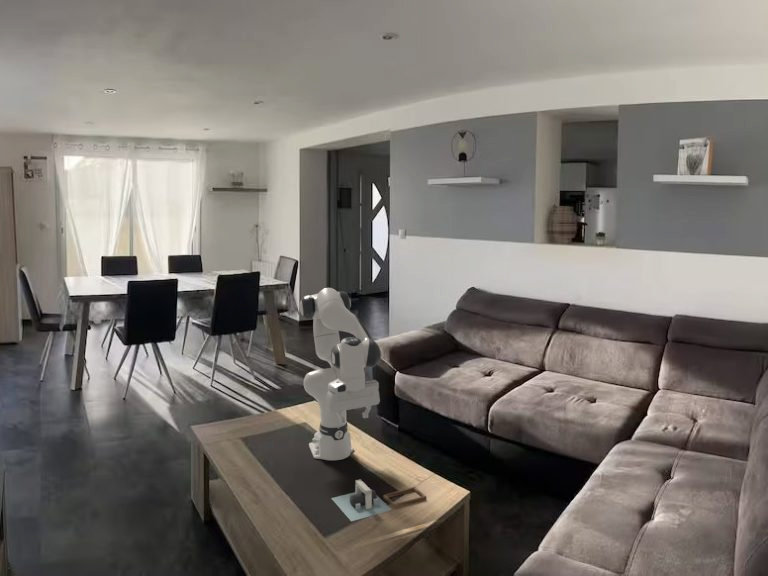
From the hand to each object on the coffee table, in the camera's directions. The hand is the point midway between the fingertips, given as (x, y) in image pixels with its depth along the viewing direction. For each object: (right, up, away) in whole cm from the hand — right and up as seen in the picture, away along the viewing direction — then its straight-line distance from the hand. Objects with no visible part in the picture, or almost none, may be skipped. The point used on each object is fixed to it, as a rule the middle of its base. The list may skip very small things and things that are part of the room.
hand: (353, 419), depth 216 cm
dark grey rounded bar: (+3, -31, +1) cm, 31 cm away
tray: (+19, -31, +4) cm, 36 cm away
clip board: (+3, -32, 0) cm, 32 cm away
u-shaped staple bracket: (+3, -30, +1) cm, 31 cm away
